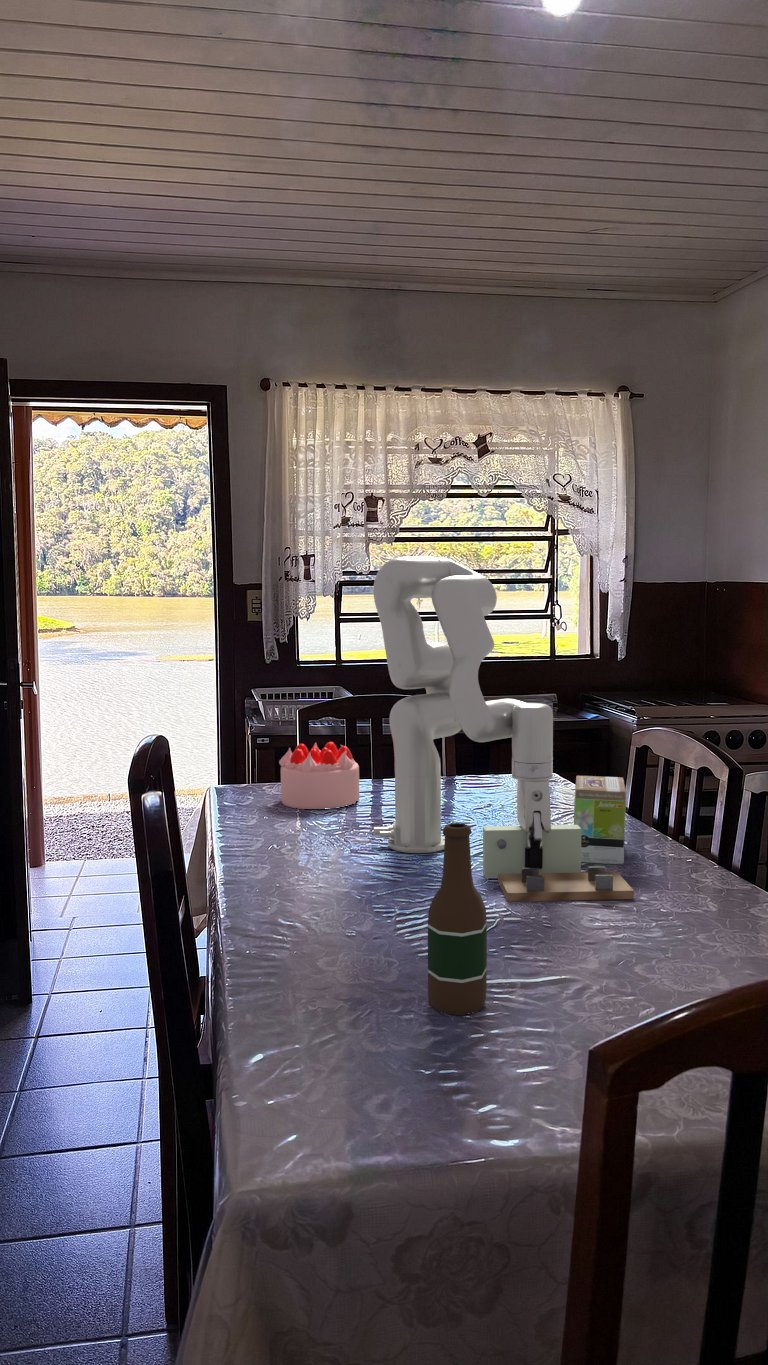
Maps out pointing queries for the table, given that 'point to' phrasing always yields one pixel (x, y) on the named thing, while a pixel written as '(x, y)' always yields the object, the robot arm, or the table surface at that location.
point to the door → (510, 843)
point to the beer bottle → (457, 932)
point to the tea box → (601, 818)
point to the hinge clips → (594, 874)
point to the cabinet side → (564, 888)
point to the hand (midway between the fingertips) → (531, 864)
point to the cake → (319, 777)
